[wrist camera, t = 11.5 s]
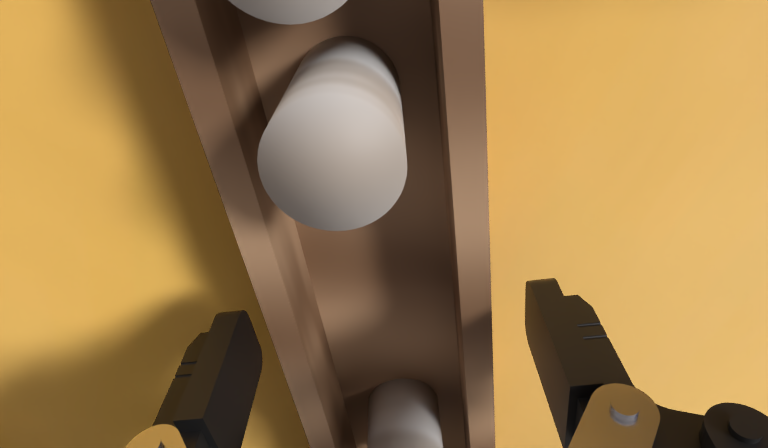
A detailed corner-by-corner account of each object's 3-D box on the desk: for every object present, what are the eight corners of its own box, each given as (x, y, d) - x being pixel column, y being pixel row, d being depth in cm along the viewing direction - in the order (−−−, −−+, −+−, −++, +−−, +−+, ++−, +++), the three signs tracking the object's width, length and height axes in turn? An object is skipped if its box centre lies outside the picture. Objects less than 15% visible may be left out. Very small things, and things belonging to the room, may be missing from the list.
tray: (484, 467, 22) (508, 603, 18) (352, 477, 23) (345, 613, 18) (448, -246, 10) (504, -376, 5) (152, -193, 10) (-26, -270, 6)
